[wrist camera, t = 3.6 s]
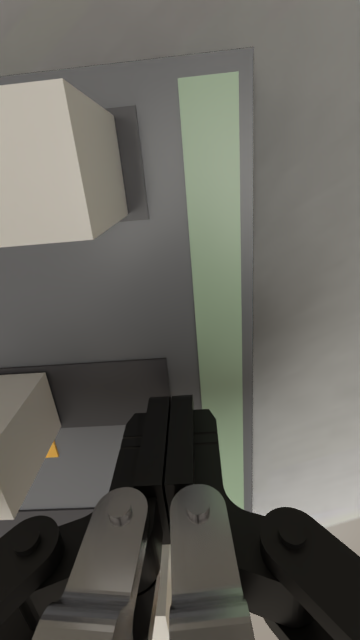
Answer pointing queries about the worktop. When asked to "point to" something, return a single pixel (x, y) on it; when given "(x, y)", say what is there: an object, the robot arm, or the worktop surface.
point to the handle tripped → (23, 435)
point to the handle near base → (57, 165)
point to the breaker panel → (145, 279)
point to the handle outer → (163, 597)
